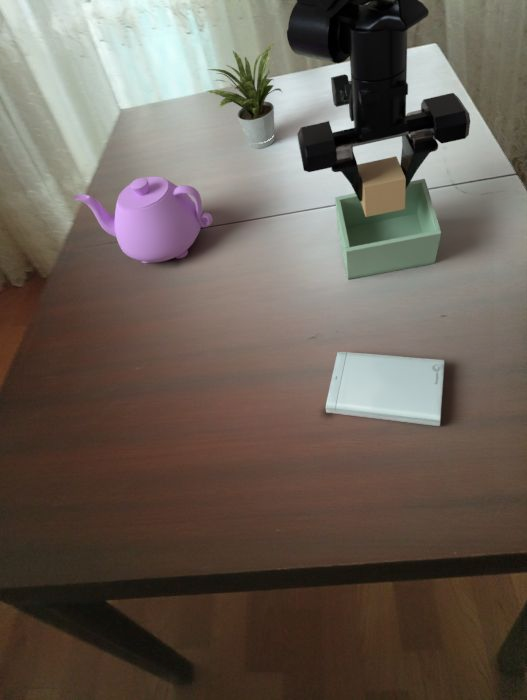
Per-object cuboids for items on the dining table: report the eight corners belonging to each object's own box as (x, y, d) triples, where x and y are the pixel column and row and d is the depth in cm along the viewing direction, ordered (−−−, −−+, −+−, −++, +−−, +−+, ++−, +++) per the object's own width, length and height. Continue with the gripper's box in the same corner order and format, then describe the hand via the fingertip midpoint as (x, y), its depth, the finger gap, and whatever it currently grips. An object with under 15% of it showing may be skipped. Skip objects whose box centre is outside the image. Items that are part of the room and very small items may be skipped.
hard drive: (445, 358, 57) (337, 349, 61) (441, 420, 52) (324, 406, 56) (444, 367, 58) (338, 357, 62) (439, 428, 54) (326, 413, 58)
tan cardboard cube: (396, 186, 66) (396, 156, 63) (405, 209, 63) (405, 178, 59) (358, 194, 67) (356, 164, 63) (365, 217, 63) (363, 186, 60)
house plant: (257, 115, 106) (238, 31, 94) (311, 123, 99) (298, 33, 87) (216, 151, 100) (190, 66, 88) (270, 162, 93) (251, 72, 81)
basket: (333, 209, 75) (330, 176, 69) (414, 192, 74) (418, 157, 67) (347, 279, 70) (346, 251, 64) (434, 263, 69) (441, 233, 62)
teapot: (98, 281, 82) (59, 222, 73) (116, 227, 91) (84, 168, 81) (214, 265, 78) (190, 200, 69) (222, 210, 87) (201, 146, 78)
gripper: (447, 18, 56) (437, 146, 68) (284, 58, 58) (302, 175, 70) (480, 58, 49) (463, 193, 61) (293, 102, 51) (312, 224, 63)
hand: (381, 194), depth 64 cm, fingers closed on tan cardboard cube, 5 cm apart
